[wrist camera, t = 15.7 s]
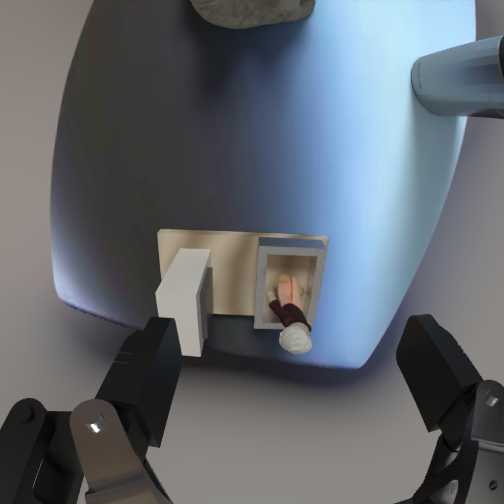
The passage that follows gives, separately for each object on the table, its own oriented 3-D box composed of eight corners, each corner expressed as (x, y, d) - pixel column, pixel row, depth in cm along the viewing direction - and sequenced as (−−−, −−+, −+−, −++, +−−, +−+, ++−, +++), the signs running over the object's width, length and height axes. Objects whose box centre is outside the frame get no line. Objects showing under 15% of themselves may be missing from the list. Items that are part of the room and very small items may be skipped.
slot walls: (321, 239, 35) (326, 248, 33) (308, 316, 40) (311, 329, 37) (258, 236, 35) (259, 245, 32) (253, 315, 40) (254, 328, 37)
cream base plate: (325, 236, 37) (328, 240, 35) (313, 310, 42) (314, 316, 40) (160, 229, 36) (157, 233, 35) (168, 304, 41) (165, 310, 40)
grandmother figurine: (316, 287, 38) (339, 349, 27) (299, 307, 39) (315, 372, 28) (270, 260, 37) (279, 320, 25) (254, 282, 38) (255, 346, 26)
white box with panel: (215, 249, 36) (202, 296, 26) (216, 302, 39) (206, 357, 29) (180, 248, 36) (155, 293, 26) (183, 300, 39) (165, 353, 29)
